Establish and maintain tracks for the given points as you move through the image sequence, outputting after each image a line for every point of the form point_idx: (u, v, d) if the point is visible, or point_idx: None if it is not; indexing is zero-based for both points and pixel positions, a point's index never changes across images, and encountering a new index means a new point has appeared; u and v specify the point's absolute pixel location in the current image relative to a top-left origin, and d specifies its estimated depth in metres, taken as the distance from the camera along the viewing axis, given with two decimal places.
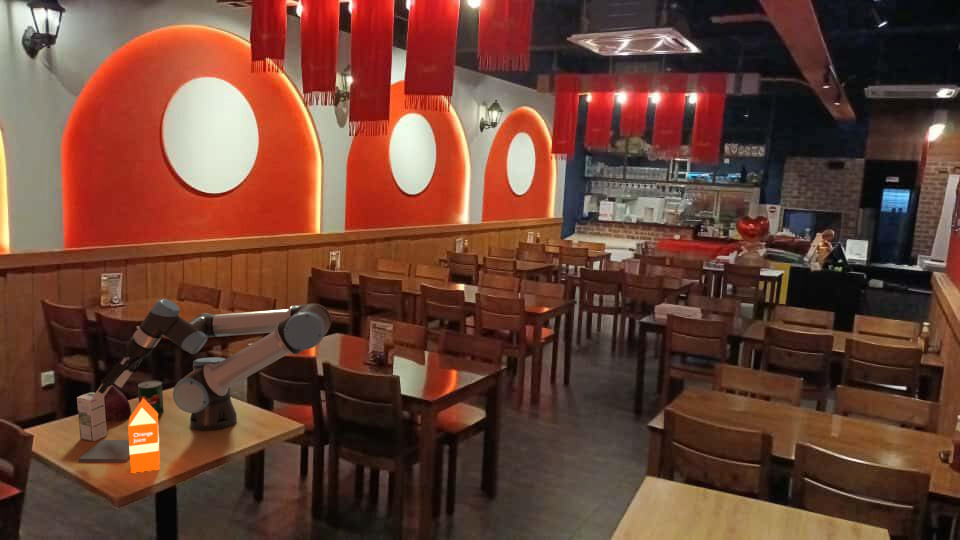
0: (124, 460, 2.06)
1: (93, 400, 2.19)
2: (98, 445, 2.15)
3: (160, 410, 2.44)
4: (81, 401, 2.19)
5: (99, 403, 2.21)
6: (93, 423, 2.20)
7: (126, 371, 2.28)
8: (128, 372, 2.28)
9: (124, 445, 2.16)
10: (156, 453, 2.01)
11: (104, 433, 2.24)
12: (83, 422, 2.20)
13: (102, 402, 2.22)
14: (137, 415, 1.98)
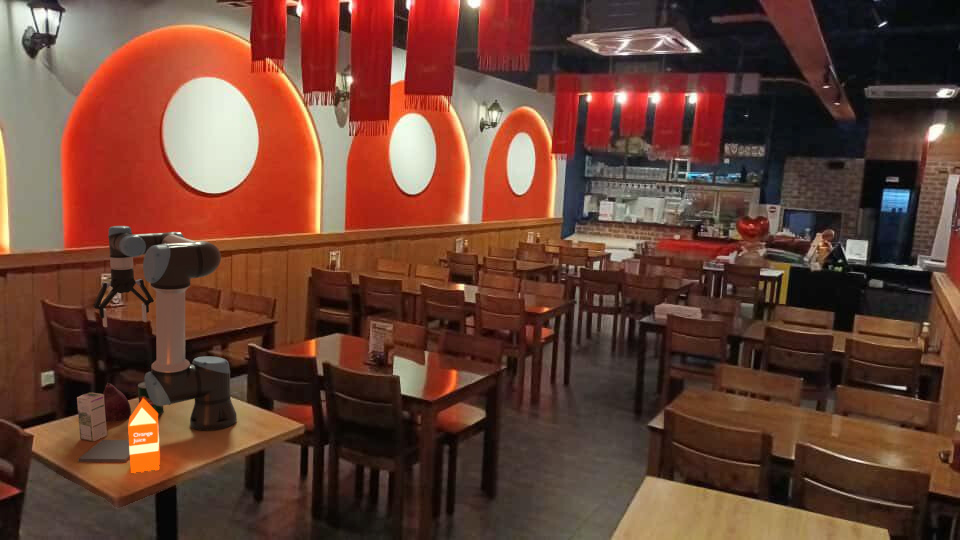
0: (124, 460, 2.06)
1: (93, 400, 2.19)
2: (98, 445, 2.15)
3: (160, 410, 2.44)
4: (81, 401, 2.19)
5: (99, 403, 2.21)
6: (93, 423, 2.20)
7: (142, 306, 2.59)
8: (143, 306, 2.59)
9: (124, 445, 2.16)
10: (156, 453, 2.01)
11: (104, 433, 2.24)
12: (83, 422, 2.20)
13: (102, 402, 2.22)
14: (137, 415, 1.98)
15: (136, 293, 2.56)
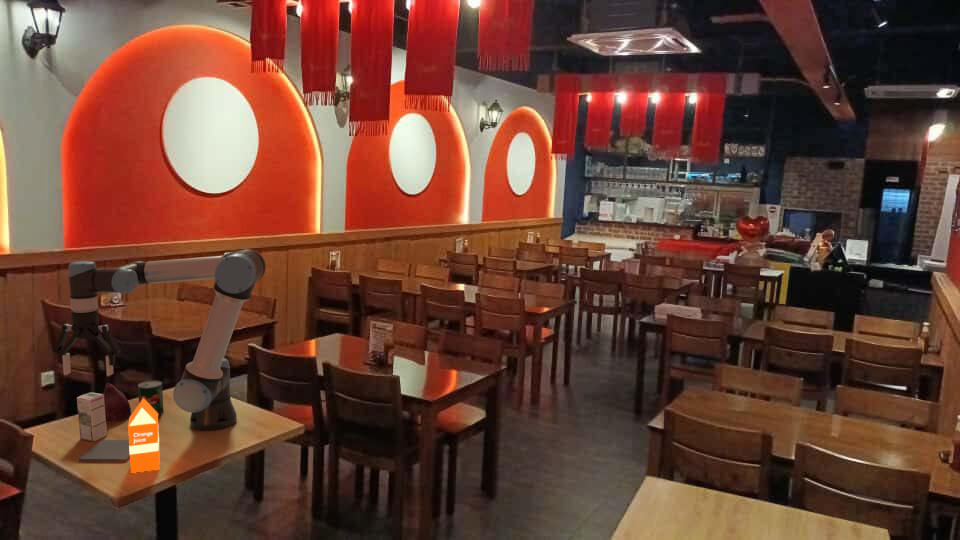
0: (124, 460, 2.06)
1: (93, 400, 2.19)
2: (98, 445, 2.15)
3: (160, 410, 2.44)
4: (81, 401, 2.19)
5: (99, 403, 2.21)
6: (93, 423, 2.20)
7: None
8: None
9: (124, 445, 2.16)
10: (156, 453, 2.01)
11: (104, 433, 2.24)
12: (83, 422, 2.20)
13: (102, 402, 2.22)
14: (137, 415, 1.98)
15: (97, 341, 2.17)
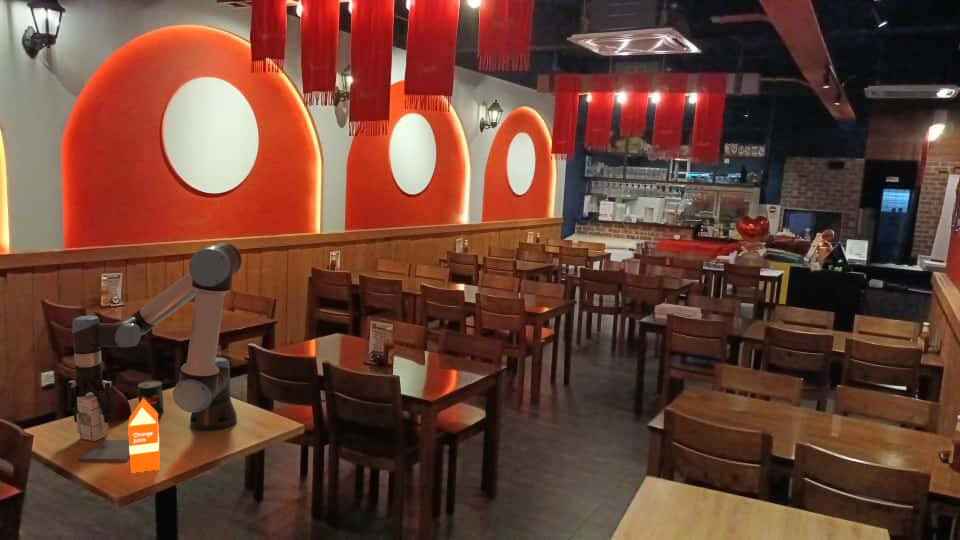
0: (124, 460, 2.06)
1: (93, 400, 2.19)
2: (98, 445, 2.15)
3: (160, 410, 2.44)
4: (81, 401, 2.19)
5: None
6: (93, 423, 2.20)
7: None
8: None
9: (124, 445, 2.16)
10: (156, 453, 2.01)
11: (104, 433, 2.24)
12: (83, 422, 2.20)
13: None
14: (137, 415, 1.98)
15: (97, 397, 2.20)
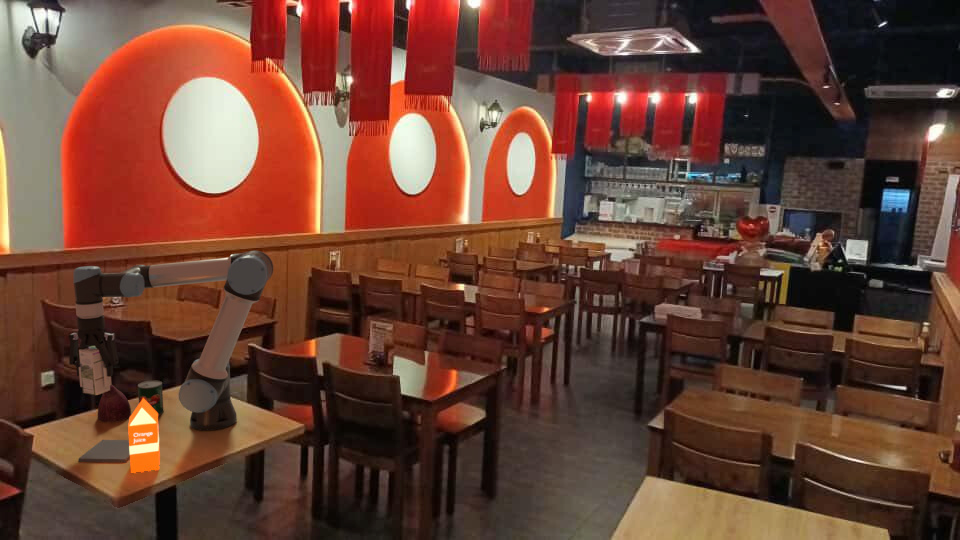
0: (124, 460, 2.06)
1: (95, 353, 2.14)
2: (98, 445, 2.15)
3: (160, 410, 2.44)
4: (83, 354, 2.14)
5: None
6: (95, 377, 2.14)
7: None
8: None
9: (124, 445, 2.16)
10: (156, 453, 2.01)
11: (107, 388, 2.19)
12: (85, 375, 2.15)
13: None
14: (137, 415, 1.98)
15: (99, 349, 2.15)
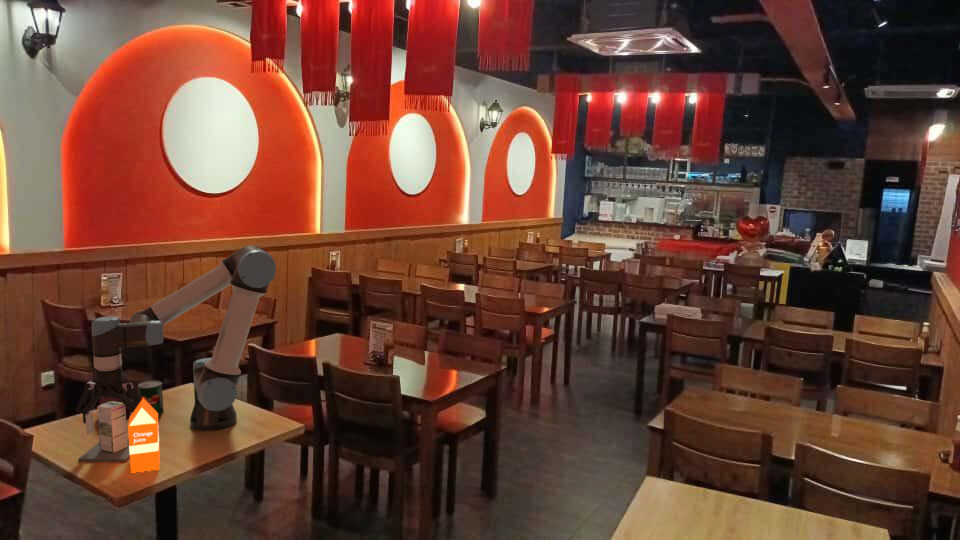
0: (124, 460, 2.06)
1: (115, 409, 2.09)
2: (98, 445, 2.15)
3: (160, 410, 2.44)
4: (102, 411, 2.09)
5: (120, 412, 2.11)
6: (114, 434, 2.09)
7: None
8: None
9: None
10: (156, 453, 2.01)
11: (125, 444, 2.14)
12: (103, 432, 2.10)
13: (123, 411, 2.12)
14: (137, 415, 1.98)
15: (122, 399, 2.09)
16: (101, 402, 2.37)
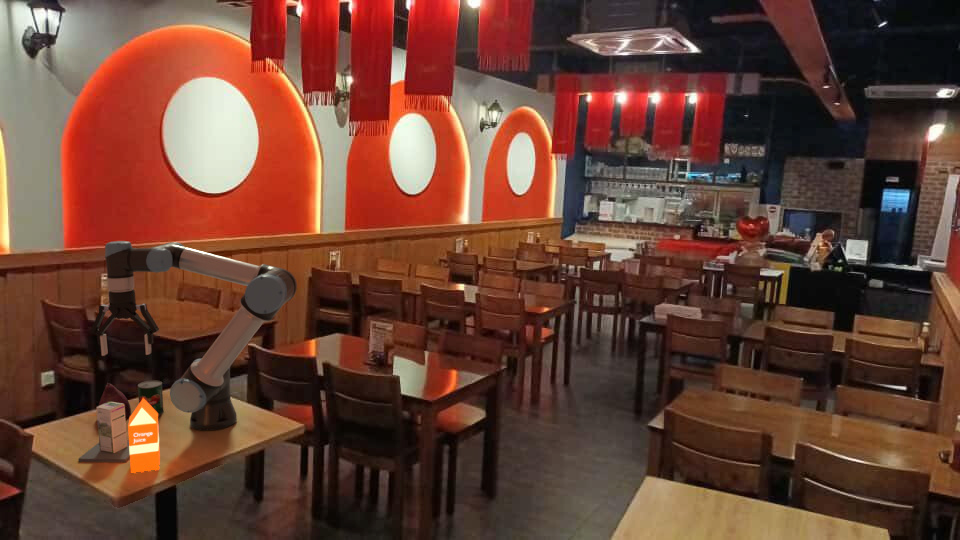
0: (124, 460, 2.06)
1: (114, 410, 2.08)
2: (98, 445, 2.15)
3: (160, 410, 2.44)
4: (101, 411, 2.08)
5: (120, 413, 2.11)
6: (114, 434, 2.09)
7: None
8: None
9: None
10: (156, 453, 2.01)
11: (125, 444, 2.14)
12: (103, 433, 2.09)
13: (123, 412, 2.12)
14: (137, 415, 1.98)
15: (136, 320, 2.19)
16: (101, 402, 2.37)
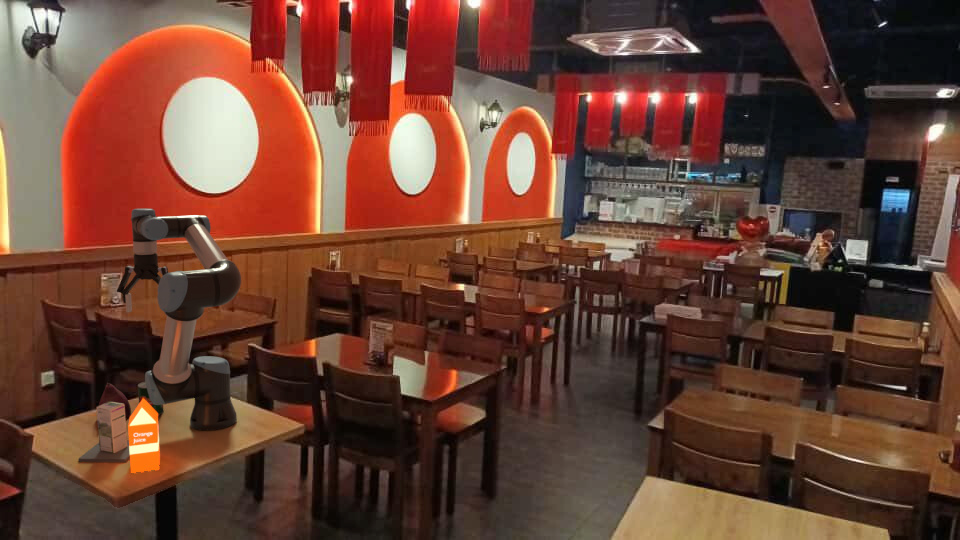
0: (124, 460, 2.06)
1: (114, 410, 2.08)
2: (98, 445, 2.15)
3: (160, 410, 2.44)
4: (101, 411, 2.08)
5: (120, 413, 2.11)
6: (114, 434, 2.09)
7: None
8: None
9: None
10: (156, 453, 2.01)
11: (125, 444, 2.14)
12: (103, 433, 2.09)
13: (123, 412, 2.12)
14: (137, 415, 1.98)
15: (157, 281, 2.39)
16: (101, 402, 2.37)
